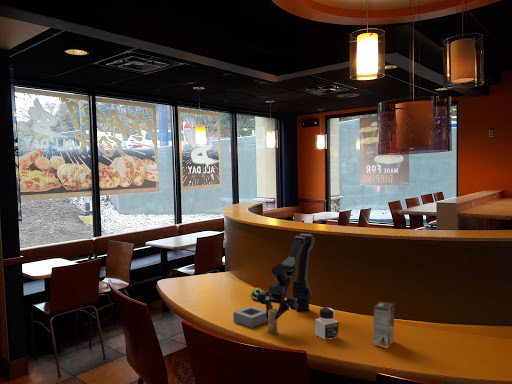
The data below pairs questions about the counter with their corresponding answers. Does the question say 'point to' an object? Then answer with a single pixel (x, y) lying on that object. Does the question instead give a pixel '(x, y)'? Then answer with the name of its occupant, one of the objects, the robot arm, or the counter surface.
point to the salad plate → (257, 291)
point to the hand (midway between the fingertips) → (271, 318)
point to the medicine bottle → (326, 324)
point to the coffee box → (383, 323)
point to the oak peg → (272, 321)
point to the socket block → (250, 316)
